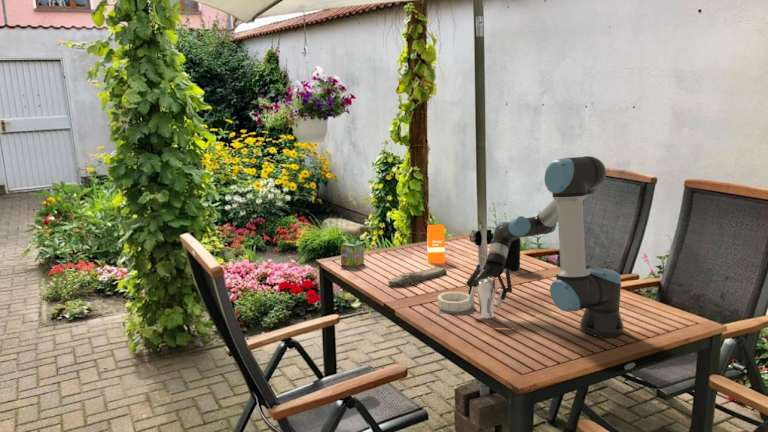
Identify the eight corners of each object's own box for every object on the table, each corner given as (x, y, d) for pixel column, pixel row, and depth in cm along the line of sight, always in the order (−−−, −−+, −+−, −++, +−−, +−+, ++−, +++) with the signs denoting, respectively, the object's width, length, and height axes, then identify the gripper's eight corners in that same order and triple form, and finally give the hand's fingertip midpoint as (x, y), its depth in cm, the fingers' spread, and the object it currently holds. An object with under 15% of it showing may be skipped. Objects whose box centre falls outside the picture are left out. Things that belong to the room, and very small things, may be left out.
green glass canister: (340, 265, 318) (339, 238, 315) (351, 261, 325) (350, 235, 323) (354, 267, 313) (353, 240, 310) (364, 263, 320) (363, 236, 317)
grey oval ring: (473, 315, 239) (473, 314, 239) (438, 314, 241) (438, 313, 241) (474, 300, 256) (474, 299, 256) (441, 300, 259) (441, 298, 259)
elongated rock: (451, 277, 296) (438, 274, 304) (451, 267, 296) (438, 264, 304) (396, 288, 275) (383, 285, 283) (396, 277, 275) (383, 274, 283)
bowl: (471, 312, 241) (471, 303, 240) (436, 311, 243) (436, 302, 242) (471, 301, 255) (471, 292, 254) (439, 300, 257) (438, 291, 256)
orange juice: (444, 262, 317) (444, 226, 313) (428, 263, 317) (427, 226, 313) (443, 258, 325) (443, 223, 321) (427, 259, 325) (426, 223, 321)
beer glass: (491, 321, 233) (491, 284, 230) (474, 318, 236) (474, 282, 233) (497, 315, 238) (498, 279, 235) (481, 313, 242) (481, 277, 239)
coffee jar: (522, 267, 305) (523, 232, 301) (515, 272, 296) (515, 237, 292) (502, 264, 310) (503, 230, 307) (495, 269, 302) (495, 235, 298)
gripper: (527, 264, 241) (515, 313, 231) (472, 258, 252) (458, 304, 242) (523, 254, 235) (511, 304, 225) (467, 249, 247) (453, 296, 237)
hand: (484, 304), depth 234 cm, fingers open, 11 cm apart
